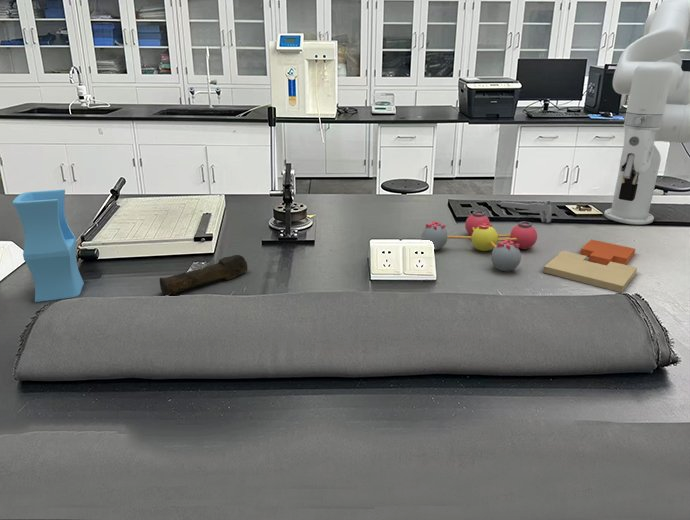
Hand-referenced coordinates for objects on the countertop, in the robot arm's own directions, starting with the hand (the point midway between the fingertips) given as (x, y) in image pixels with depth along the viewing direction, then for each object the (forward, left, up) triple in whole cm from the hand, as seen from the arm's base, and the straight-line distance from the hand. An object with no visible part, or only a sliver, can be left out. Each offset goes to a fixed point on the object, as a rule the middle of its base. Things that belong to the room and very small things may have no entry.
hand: (626, 199), depth 128 cm
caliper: (-9, -28, -12) cm, 32 cm away
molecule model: (+25, -24, -12) cm, 36 cm away
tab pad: (+10, 0, -12) cm, 15 cm away
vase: (+100, -81, -12) cm, 129 cm away
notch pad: (+23, 0, -12) cm, 25 cm away
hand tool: (+79, -61, -12) cm, 100 cm away
